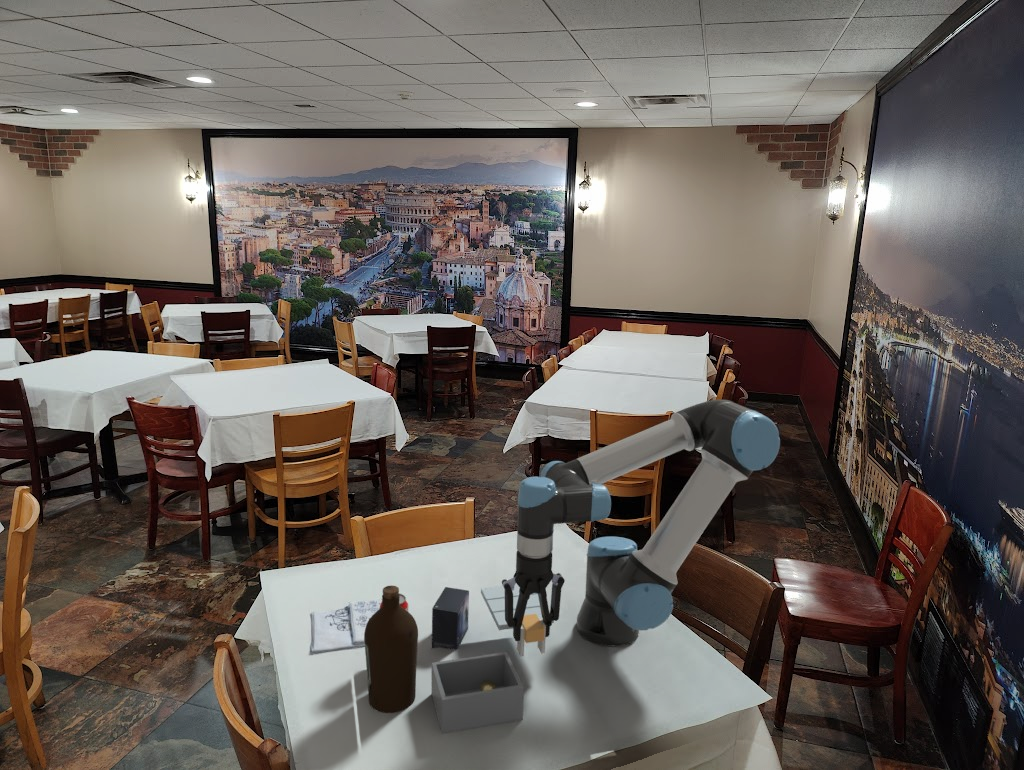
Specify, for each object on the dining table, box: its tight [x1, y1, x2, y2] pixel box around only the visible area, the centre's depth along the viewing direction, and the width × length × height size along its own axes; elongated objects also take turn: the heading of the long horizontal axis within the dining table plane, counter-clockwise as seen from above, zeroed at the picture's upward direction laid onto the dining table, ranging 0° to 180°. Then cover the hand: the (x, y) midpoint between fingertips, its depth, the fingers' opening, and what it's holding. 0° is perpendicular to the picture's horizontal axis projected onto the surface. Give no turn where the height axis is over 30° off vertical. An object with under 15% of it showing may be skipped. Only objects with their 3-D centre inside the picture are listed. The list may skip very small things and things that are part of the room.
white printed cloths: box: [309, 598, 382, 655], centre depth 169 cm, size 19×20×2 cm
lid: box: [480, 583, 555, 644], centre depth 158 cm, size 23×13×4 cm, turn 16°
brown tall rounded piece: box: [364, 585, 419, 714], centre depth 140 cm, size 11×11×25 cm
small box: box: [430, 586, 470, 651], centre depth 164 cm, size 11×6×10 cm, turn 168°
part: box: [481, 680, 496, 691], centre depth 143 cm, size 3×3×3 cm
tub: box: [431, 651, 525, 734], centre depth 140 cm, size 16×12×8 cm
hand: (530, 651), depth 151 cm, fingers closed on lid, 4 cm apart
